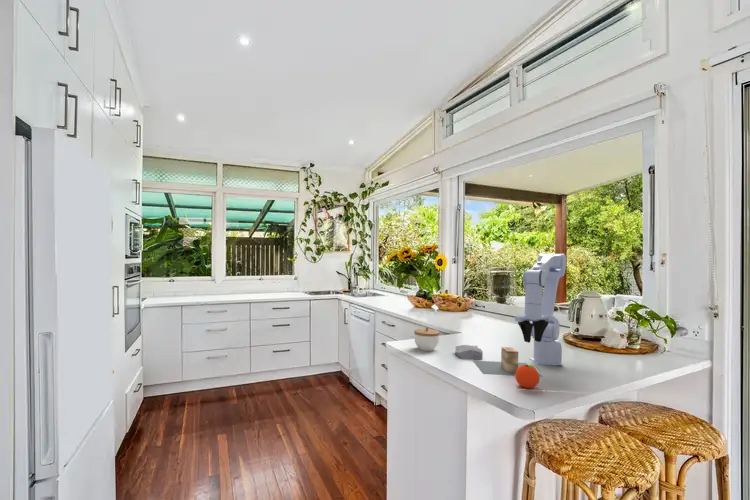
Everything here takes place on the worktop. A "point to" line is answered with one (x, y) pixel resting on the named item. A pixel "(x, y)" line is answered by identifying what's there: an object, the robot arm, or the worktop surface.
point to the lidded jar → (426, 339)
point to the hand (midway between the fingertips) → (532, 341)
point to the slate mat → (495, 368)
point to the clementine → (527, 376)
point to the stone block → (469, 352)
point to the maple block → (509, 359)
